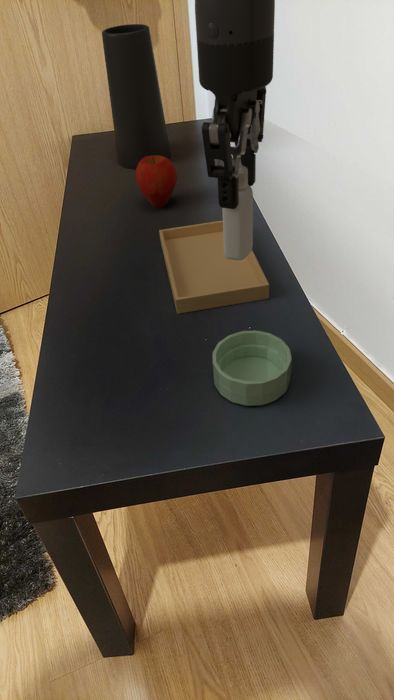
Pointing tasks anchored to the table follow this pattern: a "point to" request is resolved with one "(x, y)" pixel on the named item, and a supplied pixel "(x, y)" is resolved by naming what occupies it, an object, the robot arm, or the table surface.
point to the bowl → (252, 367)
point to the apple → (156, 179)
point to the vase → (134, 94)
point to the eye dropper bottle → (239, 221)
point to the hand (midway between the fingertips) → (237, 194)
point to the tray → (208, 269)
